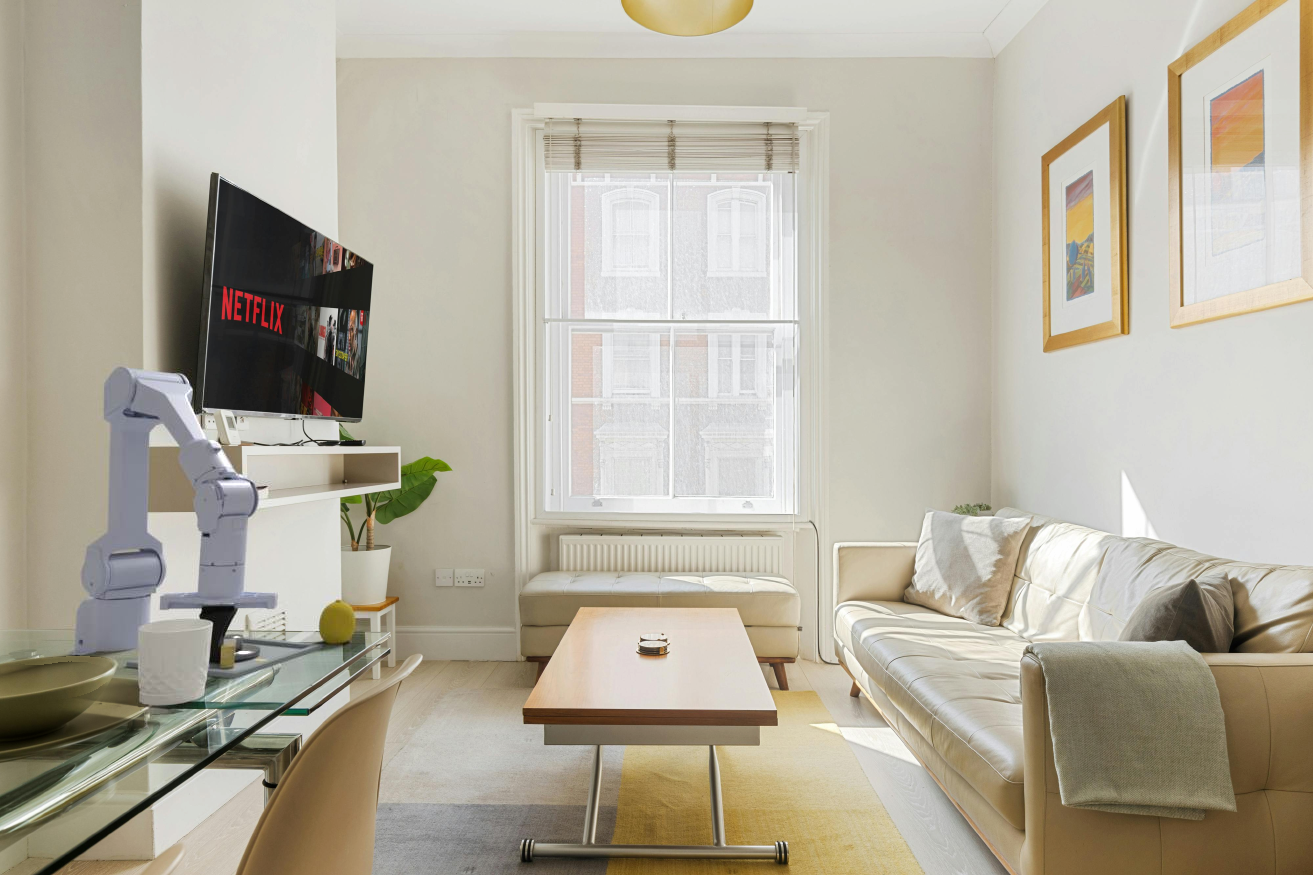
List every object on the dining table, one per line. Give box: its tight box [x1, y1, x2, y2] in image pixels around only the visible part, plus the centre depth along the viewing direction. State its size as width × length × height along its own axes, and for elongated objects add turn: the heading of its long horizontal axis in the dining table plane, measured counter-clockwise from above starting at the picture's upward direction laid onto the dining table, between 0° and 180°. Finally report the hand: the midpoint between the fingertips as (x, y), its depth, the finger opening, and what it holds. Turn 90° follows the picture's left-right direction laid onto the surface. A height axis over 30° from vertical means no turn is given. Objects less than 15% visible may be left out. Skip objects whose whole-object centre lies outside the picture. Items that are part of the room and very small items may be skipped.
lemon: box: [318, 599, 356, 645], centre depth 127 cm, size 6×6×8 cm
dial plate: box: [125, 636, 323, 679], centre depth 115 cm, size 18×18×2 cm
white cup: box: [137, 618, 213, 715], centre depth 96 cm, size 8×8×10 cm
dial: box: [218, 633, 260, 668], centre depth 114 cm, size 11×8×3 cm
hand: (216, 659), depth 110 cm, fingers closed, pressing on dial
